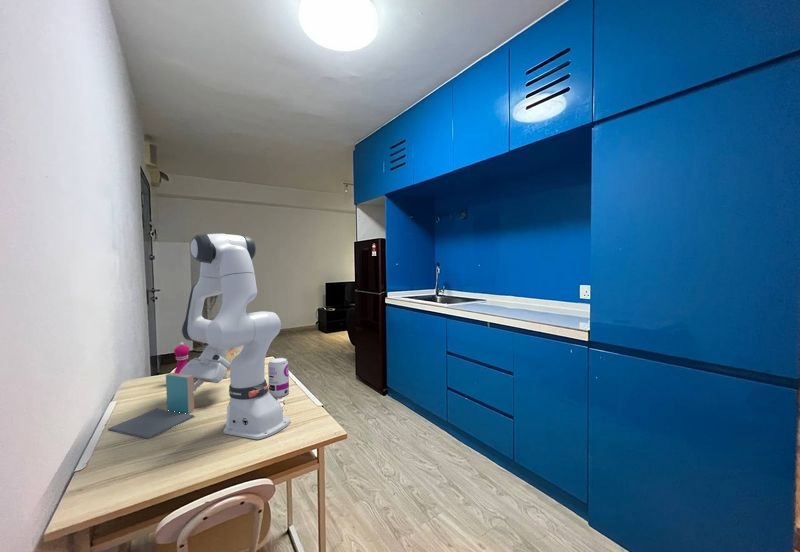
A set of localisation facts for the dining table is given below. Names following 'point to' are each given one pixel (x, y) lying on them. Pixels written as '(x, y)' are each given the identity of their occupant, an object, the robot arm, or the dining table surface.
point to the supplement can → (278, 377)
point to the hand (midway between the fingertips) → (190, 390)
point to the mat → (151, 423)
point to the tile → (180, 393)
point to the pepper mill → (181, 356)
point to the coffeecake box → (232, 357)
